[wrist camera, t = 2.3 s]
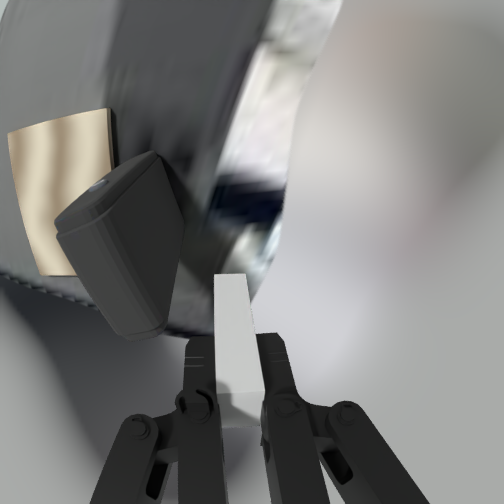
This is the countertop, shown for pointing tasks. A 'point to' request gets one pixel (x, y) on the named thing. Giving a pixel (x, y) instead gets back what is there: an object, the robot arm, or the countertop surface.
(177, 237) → the card reader
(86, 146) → the birch board
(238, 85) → the countertop surface
